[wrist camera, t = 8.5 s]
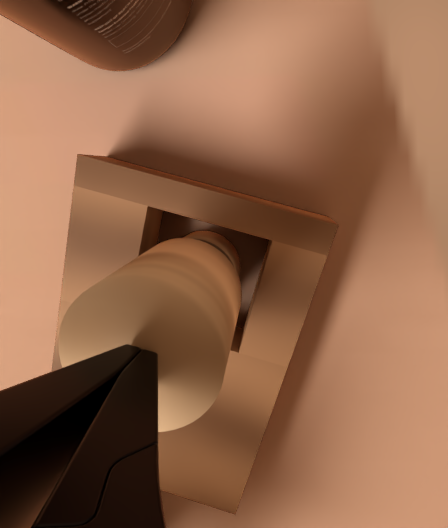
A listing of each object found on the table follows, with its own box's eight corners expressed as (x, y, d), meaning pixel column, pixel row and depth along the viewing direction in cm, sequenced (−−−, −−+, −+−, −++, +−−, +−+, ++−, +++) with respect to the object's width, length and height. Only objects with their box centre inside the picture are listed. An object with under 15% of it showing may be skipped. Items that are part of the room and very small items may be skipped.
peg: (235, 316, 18) (202, 452, 9) (155, 292, 18) (50, 403, 9) (258, 236, 17) (245, 307, 8) (172, 212, 17) (68, 255, 8)
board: (239, 474, 20) (235, 514, 18) (67, 419, 21) (42, 451, 19) (328, 216, 16) (338, 225, 13) (105, 156, 16) (77, 154, 14)
